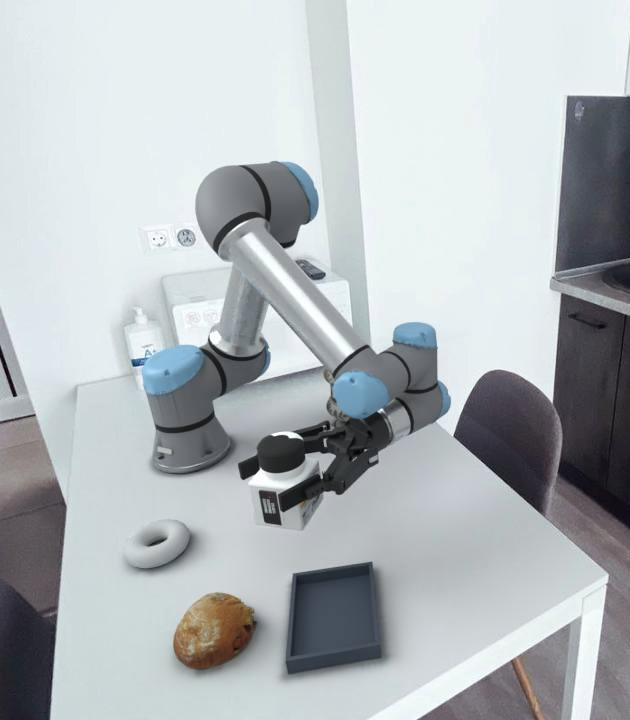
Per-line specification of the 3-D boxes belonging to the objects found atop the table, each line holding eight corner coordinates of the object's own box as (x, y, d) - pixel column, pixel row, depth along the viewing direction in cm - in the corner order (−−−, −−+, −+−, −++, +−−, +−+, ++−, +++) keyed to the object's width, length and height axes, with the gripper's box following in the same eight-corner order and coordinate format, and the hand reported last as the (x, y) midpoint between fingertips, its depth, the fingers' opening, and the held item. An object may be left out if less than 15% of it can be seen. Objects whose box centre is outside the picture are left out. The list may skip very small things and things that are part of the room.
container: (303, 532, 80) (292, 457, 74) (255, 525, 81) (240, 451, 76) (324, 499, 86) (315, 428, 81) (279, 493, 88) (268, 423, 83)
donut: (175, 573, 87) (201, 529, 96) (170, 557, 86) (197, 514, 95) (113, 573, 87) (145, 529, 97) (107, 557, 86) (140, 514, 95)
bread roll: (210, 627, 82) (176, 594, 79) (269, 601, 81) (237, 566, 78) (187, 690, 73) (148, 655, 70) (252, 662, 72) (216, 625, 69)
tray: (294, 585, 85) (292, 573, 84) (373, 573, 87) (372, 561, 86) (287, 674, 71) (285, 661, 70) (381, 657, 73) (380, 644, 72)
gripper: (425, 472, 87) (308, 545, 72) (338, 423, 102) (225, 476, 87) (424, 431, 84) (301, 499, 69) (334, 387, 99) (217, 436, 84)
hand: (259, 487), depth 78 cm, fingers closed on container, 10 cm apart
